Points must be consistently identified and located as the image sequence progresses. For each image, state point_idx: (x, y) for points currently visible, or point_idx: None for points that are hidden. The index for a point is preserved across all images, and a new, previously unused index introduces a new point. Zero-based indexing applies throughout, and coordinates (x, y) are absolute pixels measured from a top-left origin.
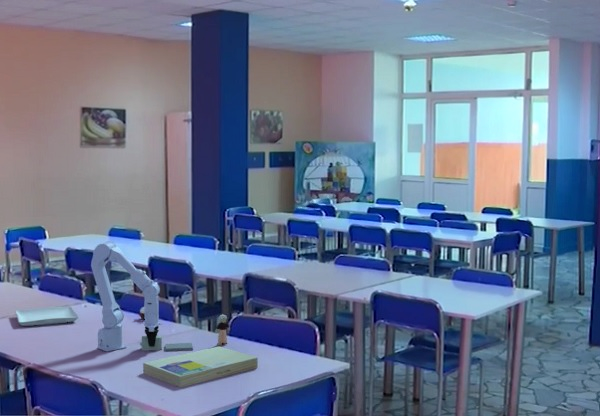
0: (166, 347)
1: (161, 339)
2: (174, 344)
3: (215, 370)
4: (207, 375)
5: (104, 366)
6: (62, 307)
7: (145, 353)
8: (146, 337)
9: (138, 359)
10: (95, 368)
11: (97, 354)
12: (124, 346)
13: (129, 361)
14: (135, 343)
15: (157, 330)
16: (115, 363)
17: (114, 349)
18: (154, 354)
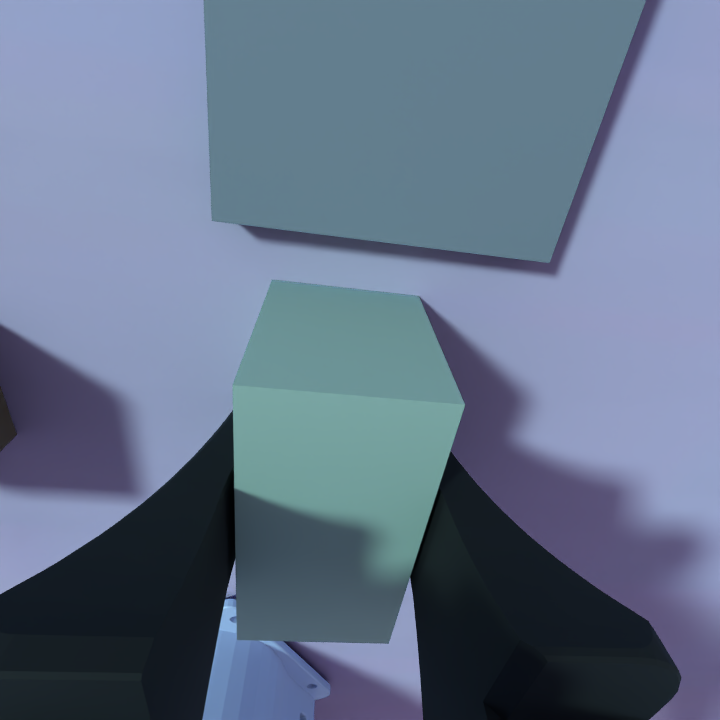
0: (476, 237)
1: (454, 382)
2: (293, 25)
3: None
4: None
5: (701, 680)
6: None
7: (513, 475)
8: (343, 600)
9: (691, 533)
10: (706, 704)
11: (383, 708)
12: (227, 618)
13: (699, 583)
14: (38, 531)
15: (632, 678)
16: (680, 643)
17: (298, 658)
18: (611, 400)
